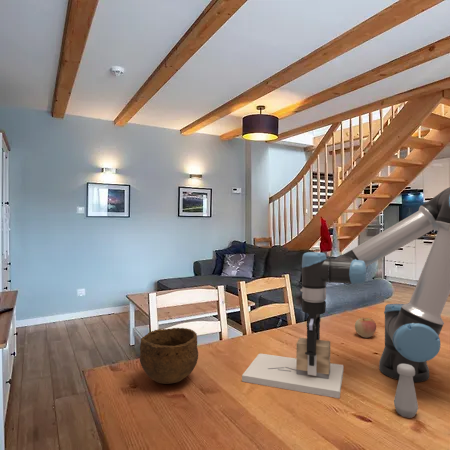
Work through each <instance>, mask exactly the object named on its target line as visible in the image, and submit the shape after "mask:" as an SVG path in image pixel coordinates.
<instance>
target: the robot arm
mask: <svg viewBox="0 0 450 450" xmlns="http://www.w3.org/2000/svg"><path fill="white" fill-rule="evenodd" d="M432 231H437V233H436V235H435V238H434V241H433V243H432V246H431V248H430V250H429V253H428V255H427V257H426V259H425V260H426V261H425V263H424V264H423V268H422V270H421V273H420V275H419V277H418V280H417V283H416V284H415V285H416V286H415V288H414V290H413V292H412V295H411V297H410V300H409V302H408V303H388V304H386V305H385V306H384V311H383V314H384V349H383V351H382V353H381V356H380V359H379V362H378V367H379V368H378V369H379V371H380V372H381V373H382V374H383V375H385V376H387V377H389V378H391V379H395V380H398V381H399V376H400V374H398V372H397V366H398V365H399V364H409V365H411V366H413V367H414V369H415V375H414V376H413V381H414V383H421V382H422V383H423V382H425V381H428V380H429V379H430V368H429V365H428V361H431V360H433V359H434V358H436V356H437V355H438V354H439V352H440V350H441V346H442V345H441V339H440V334H441V331H442V328H443V327H444V324H445V322H444V320H443V319H442V316H441V315H442V313H443V310H444V308H445V306H446V302H447V301H448V298H449V296H450V187H447V188H445V189H444V190H442V191H441V192H439V193H438V194H437V195H435V196H434V197H433V198H431V199H429V200H428V201H427V202H425V203H423V204H421V205H420V206H419V208H418V211H416V212H414V213H412V214H411V215H410V214H409V216H407V217H405V218H404V219H402V220H400V221H398V222H397V223H395V224H394V225H393V224H392V225H391V226H390V227H388V228H386V229H384V230H383V231H381V232H379V233H378V234H376V235H374V236H372V237H370V238H369V239H367V240H366V241H364V242H363V243H361V244H359V245H357V246H355V247H353V248H352V249H350V250H349V251H347V252H345V253H343V254H339V255H337V256H336V257H335V258H333V259H331V258H327V255H326V253H325V252H316V251H310V252H309V251H308V252H304V253H303V254H302V260H301V288H300V290H299V291H300V292H302V294H301V298H302V300H301V311H302V312H303V313H305V314H308V316H307V318H306V338H307V352H305V354H306V355H308V375H314V376H316V375H317V355H316V340H321V336H320V334H321V333H320V332H321V330H320V329H321V319H322V318H321V315H323V314H325V313H326V311H327V308H326V305H327V304H326V301H325V300H326V299H327V287H326V286H327V284H326V283H331V284H332V283H333V284H334V283H335V284H351V285H362V284H365V282H366V279H367V267H368V266H370V265H373V263H376V262H378V261H379V260H381V259H383V258H384V257H386V256H388V255H390V254H392V253H393V252H396V251H397V250H399V249H401V248H403V247H405V246H406V245H408V244H410V243H412V242H414V241H416V240H417V239H419V238H422V237H423V236H425V235H426V234H428V233H430V232H432Z"/></svg>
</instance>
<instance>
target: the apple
mask: <svg viewBox="0 0 450 450" xmlns="http://www.w3.org/2000/svg"><path fill="white" fill-rule="evenodd" d="M354 323H355V324H354V330H355V332H356V333H357V335H359V336H361V337H362V338H365V339H366V338H371V337H373V336H374V335H375V333H376V331H377V324H376V322H375V320H374V319H373V318H372V317H371V318H370V317H360V318H358V319H356V321H355V322H354Z"/></svg>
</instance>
